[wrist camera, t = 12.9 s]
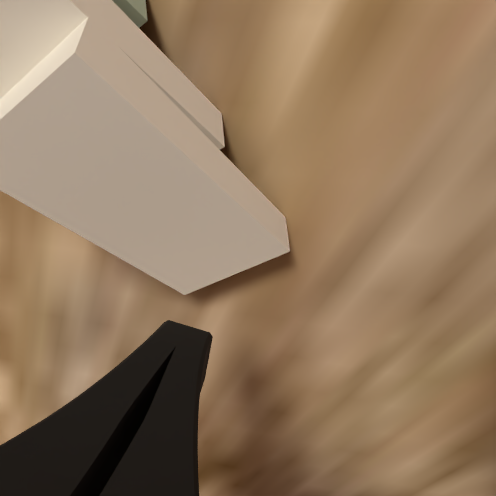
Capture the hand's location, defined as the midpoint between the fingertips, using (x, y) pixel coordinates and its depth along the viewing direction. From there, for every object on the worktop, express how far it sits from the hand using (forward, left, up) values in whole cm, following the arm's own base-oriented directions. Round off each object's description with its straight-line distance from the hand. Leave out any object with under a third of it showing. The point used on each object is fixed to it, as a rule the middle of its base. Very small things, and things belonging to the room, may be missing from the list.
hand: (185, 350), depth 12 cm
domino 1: (0, 0, -5) cm, 5 cm away
